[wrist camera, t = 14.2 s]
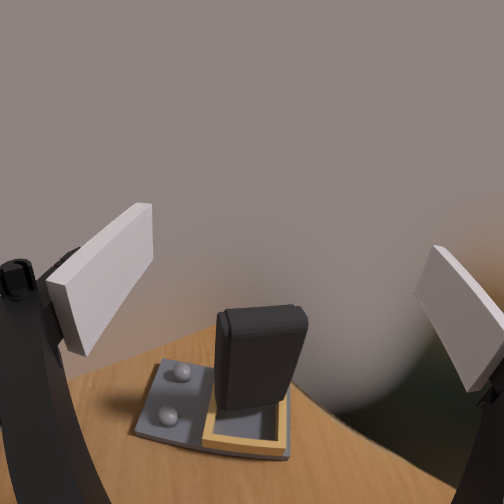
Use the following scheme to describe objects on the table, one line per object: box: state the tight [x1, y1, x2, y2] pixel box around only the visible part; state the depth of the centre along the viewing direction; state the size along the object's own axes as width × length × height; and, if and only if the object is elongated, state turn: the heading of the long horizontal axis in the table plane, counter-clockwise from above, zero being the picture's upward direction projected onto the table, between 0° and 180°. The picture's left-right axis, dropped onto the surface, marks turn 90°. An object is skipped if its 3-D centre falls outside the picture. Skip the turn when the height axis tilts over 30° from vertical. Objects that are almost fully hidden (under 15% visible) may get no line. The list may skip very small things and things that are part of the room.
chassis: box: [135, 358, 290, 461], centre depth 37 cm, size 20×14×4 cm
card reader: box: [214, 304, 308, 411], centre depth 33 cm, size 9×4×15 cm, turn 105°
